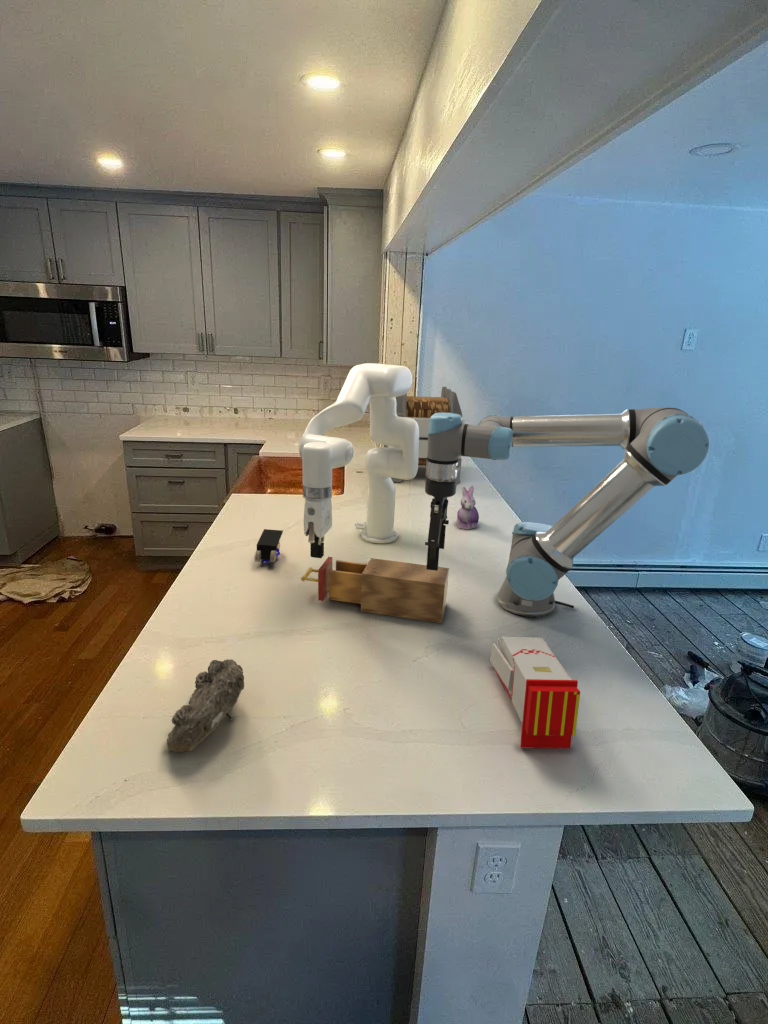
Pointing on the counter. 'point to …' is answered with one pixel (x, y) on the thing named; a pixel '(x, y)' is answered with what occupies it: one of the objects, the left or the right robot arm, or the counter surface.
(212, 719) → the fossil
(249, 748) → the counter surface
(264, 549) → the figurine character
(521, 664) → the toy
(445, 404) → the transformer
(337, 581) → the drawer
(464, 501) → the figurine
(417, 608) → the cabinet
